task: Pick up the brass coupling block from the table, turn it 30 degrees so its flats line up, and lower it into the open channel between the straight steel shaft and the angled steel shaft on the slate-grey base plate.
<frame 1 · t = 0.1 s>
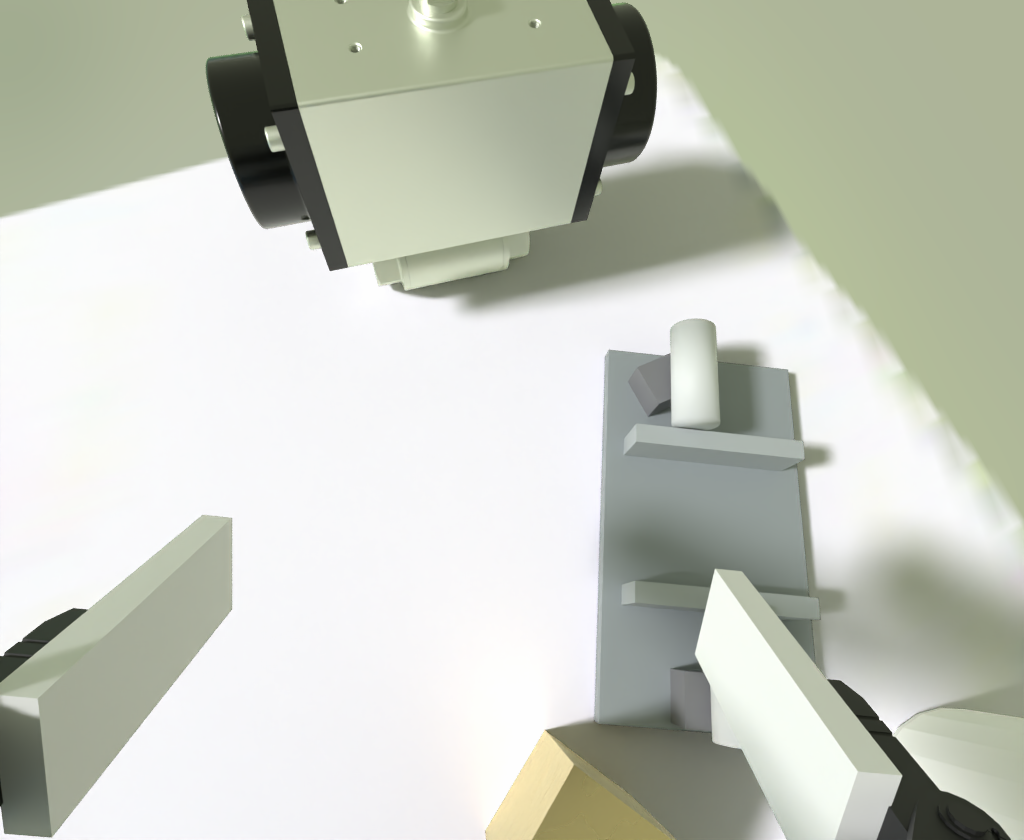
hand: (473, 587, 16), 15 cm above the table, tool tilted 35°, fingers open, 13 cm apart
ball valve: (446, 257, 37), on the table
coupling block: (559, 813, 27), on the table
shaft rig: (697, 528, 32), on the table
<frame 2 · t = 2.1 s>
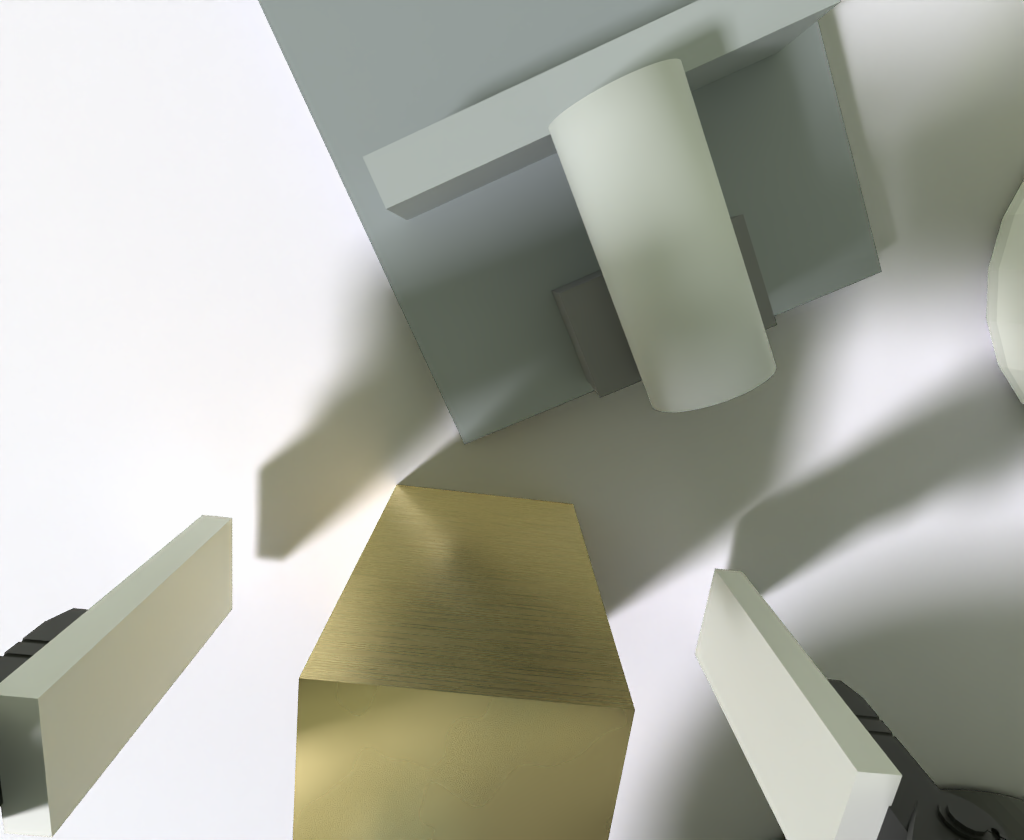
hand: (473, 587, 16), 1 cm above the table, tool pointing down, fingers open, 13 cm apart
coupling block: (476, 573, 17), on the table
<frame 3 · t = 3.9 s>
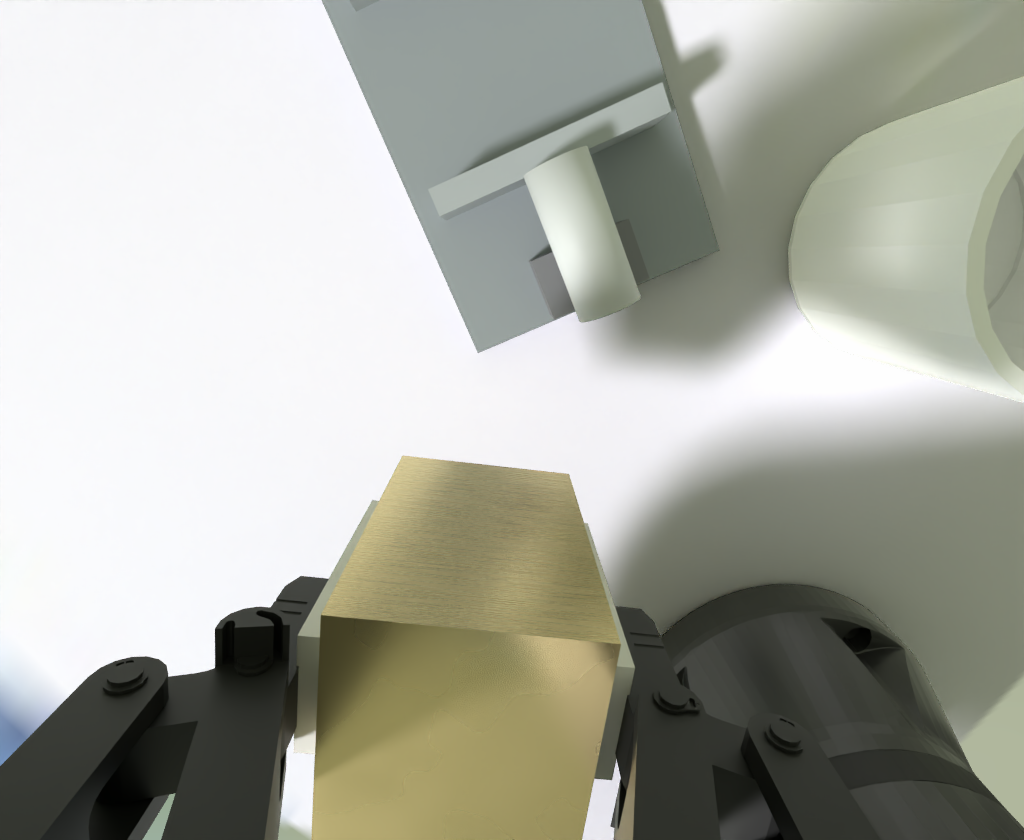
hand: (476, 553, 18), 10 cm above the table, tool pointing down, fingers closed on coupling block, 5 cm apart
mug: (918, 259, 26), on the table
coupling block: (477, 540, 18), point 10 cm above the table, touching gripper
shaft rig: (503, 65, 23), on the table
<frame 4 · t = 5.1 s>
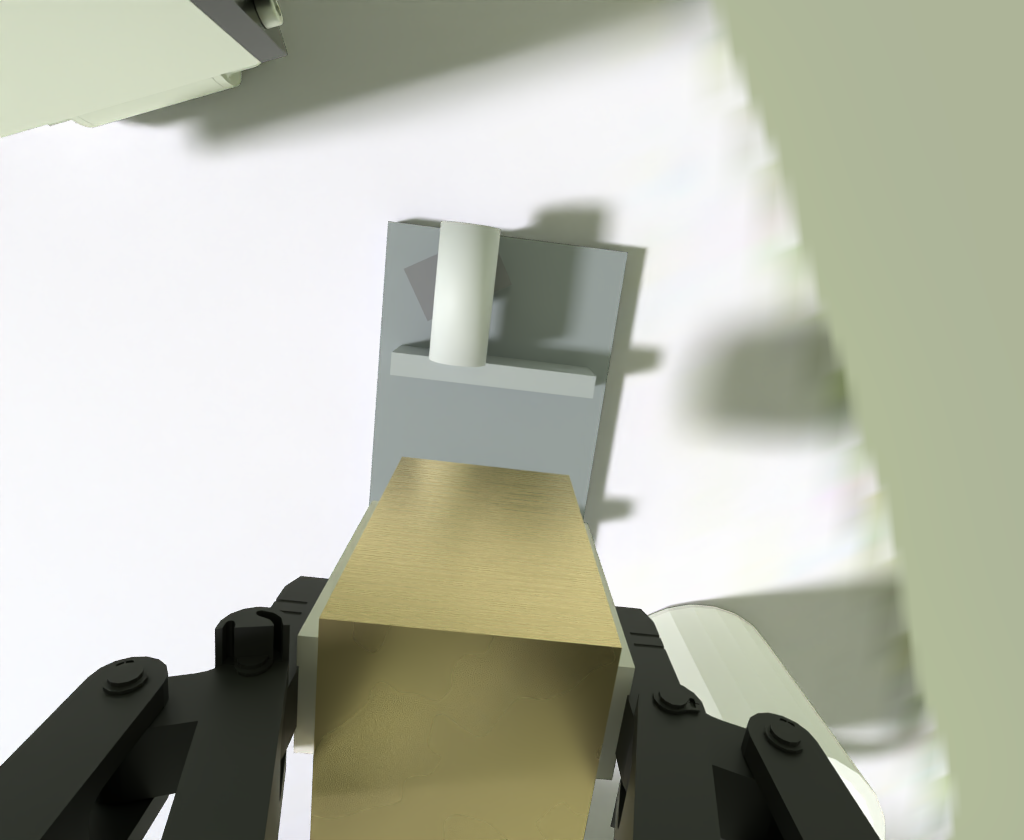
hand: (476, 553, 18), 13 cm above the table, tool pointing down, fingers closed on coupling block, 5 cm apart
ball valve: (162, 48, 25), on the table
mug: (694, 691, 34), on the table
coupling block: (477, 541, 18), point 12 cm above the table, touching gripper
shaft rig: (485, 439, 30), on the table
when the fingers open (2 cm above the table, at t = 6.7 s): coupling block stays where it is, resting on shaft rig.
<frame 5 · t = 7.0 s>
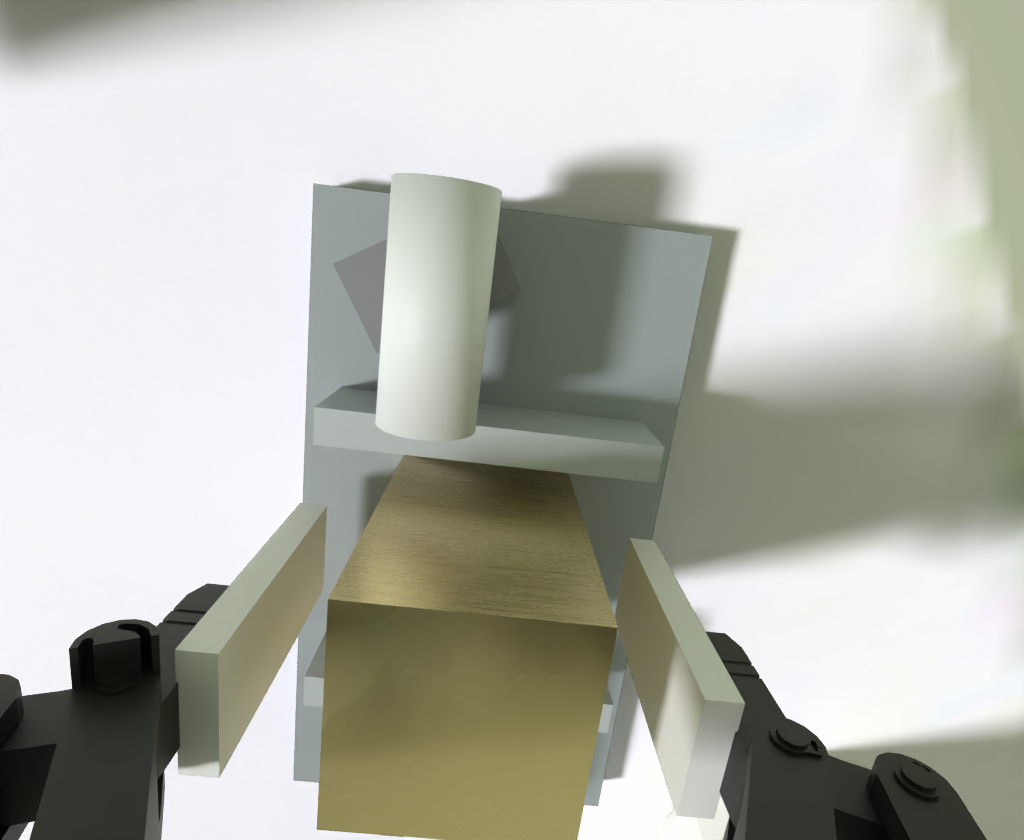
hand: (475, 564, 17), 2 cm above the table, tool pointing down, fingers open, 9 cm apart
coupling block: (478, 536, 18), point 1 cm above the table, touching shaft rig
shaft rig: (478, 528, 19), on the table
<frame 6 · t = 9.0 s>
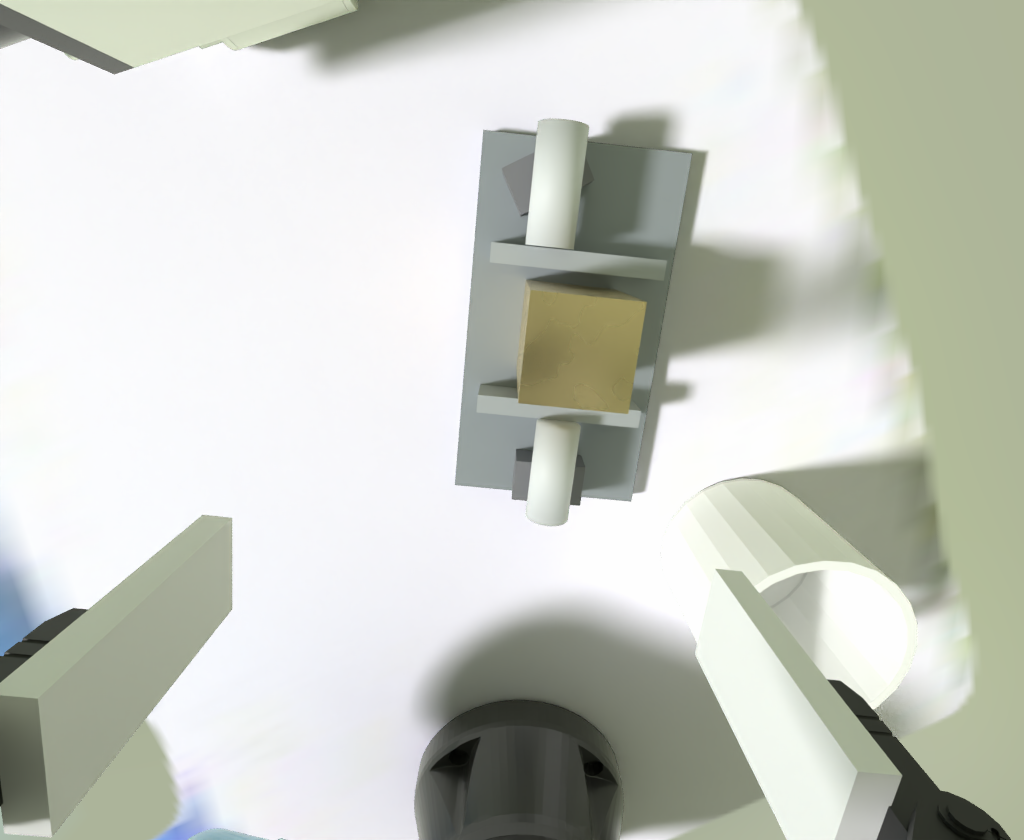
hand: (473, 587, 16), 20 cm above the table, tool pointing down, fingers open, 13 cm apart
mug: (743, 559, 39), on the table
coupling block: (564, 329, 33), point 1 cm above the table, touching shaft rig
shaft rig: (562, 330, 34), on the table
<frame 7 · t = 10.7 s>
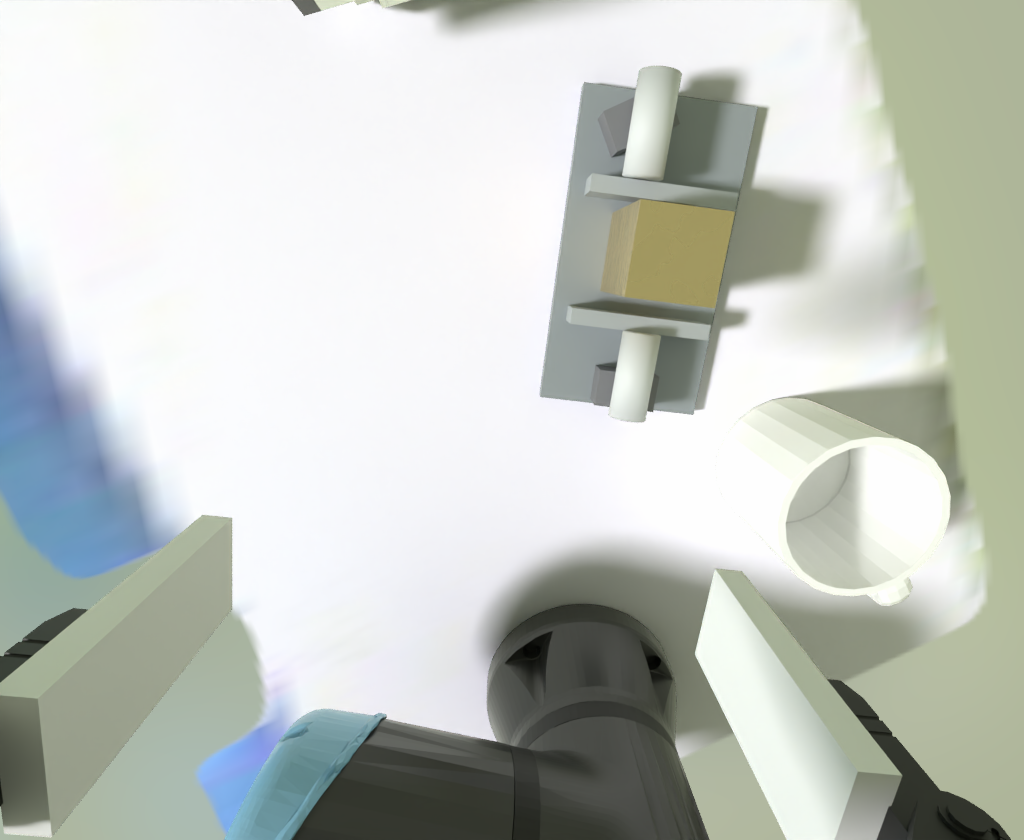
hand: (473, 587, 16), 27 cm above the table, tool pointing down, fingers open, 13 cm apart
mug: (787, 474, 44), on the table
coupling block: (643, 257, 38), point 1 cm above the table, touching shaft rig
shaft rig: (639, 260, 39), on the table
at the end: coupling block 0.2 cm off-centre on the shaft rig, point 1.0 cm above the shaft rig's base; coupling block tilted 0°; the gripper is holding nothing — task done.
